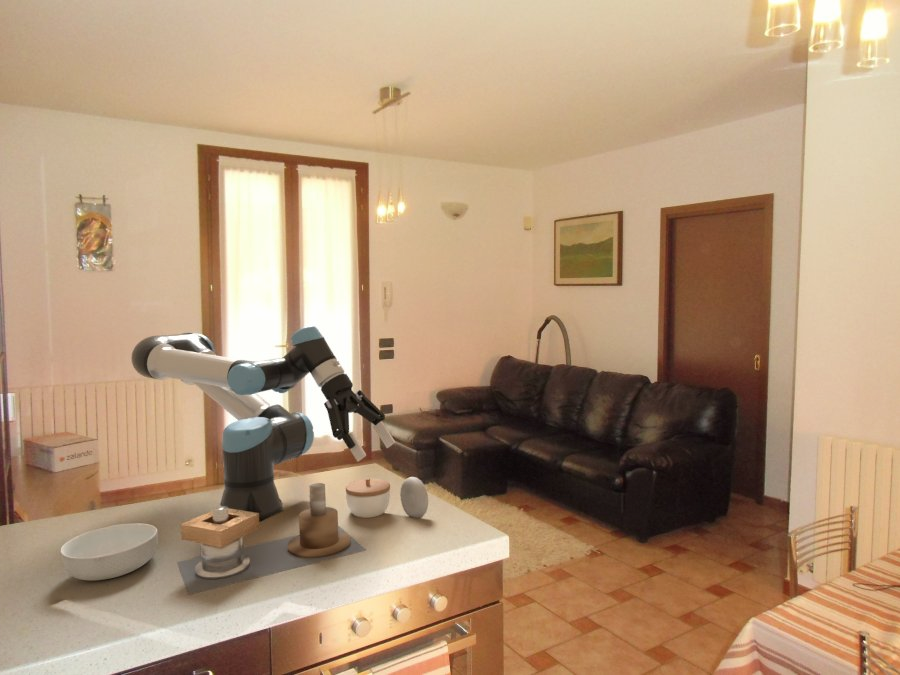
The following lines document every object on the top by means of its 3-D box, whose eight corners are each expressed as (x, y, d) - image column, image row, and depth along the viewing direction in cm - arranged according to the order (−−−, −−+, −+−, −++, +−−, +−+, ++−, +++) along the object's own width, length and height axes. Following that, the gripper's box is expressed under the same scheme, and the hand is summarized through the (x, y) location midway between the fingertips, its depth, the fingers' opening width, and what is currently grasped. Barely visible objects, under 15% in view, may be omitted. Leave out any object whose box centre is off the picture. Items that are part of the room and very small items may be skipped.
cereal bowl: (97, 555, 128) (95, 522, 127) (175, 554, 127) (173, 522, 127) (40, 594, 111) (38, 556, 110) (129, 594, 110) (127, 556, 110)
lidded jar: (337, 517, 146) (336, 479, 146) (371, 505, 154) (370, 469, 154) (365, 528, 139) (364, 488, 139) (400, 515, 147) (398, 477, 146)
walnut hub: (274, 552, 124) (271, 491, 123) (313, 529, 136) (311, 473, 135) (326, 562, 119) (324, 498, 118) (362, 537, 130) (360, 479, 130)
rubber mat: (188, 601, 107) (188, 594, 107) (177, 567, 120) (177, 561, 120) (366, 555, 124) (366, 549, 124) (339, 530, 138) (338, 525, 138)
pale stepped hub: (183, 574, 115) (180, 513, 114) (223, 553, 124) (220, 497, 123) (222, 583, 111) (219, 520, 110) (260, 561, 120) (258, 503, 119)
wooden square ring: (181, 539, 114) (180, 524, 114) (221, 521, 123) (220, 507, 123) (221, 547, 110) (220, 531, 110) (259, 528, 119) (258, 513, 119)
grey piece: (431, 522, 142) (430, 480, 141) (419, 526, 140) (418, 483, 139) (410, 510, 150) (409, 471, 149) (398, 513, 148) (397, 473, 147)
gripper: (311, 378, 140) (359, 456, 136) (369, 366, 162) (411, 432, 158) (291, 396, 143) (337, 472, 138) (351, 382, 165) (392, 447, 161)
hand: (377, 451), depth 148 cm, fingers open, 13 cm apart
